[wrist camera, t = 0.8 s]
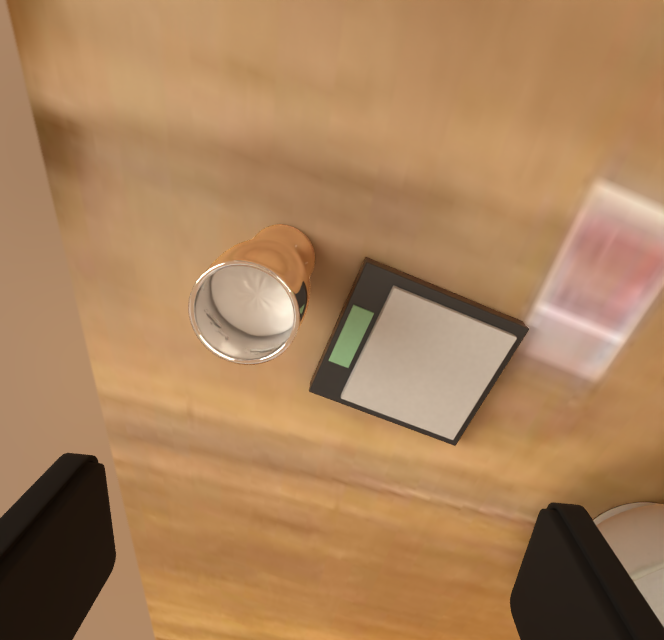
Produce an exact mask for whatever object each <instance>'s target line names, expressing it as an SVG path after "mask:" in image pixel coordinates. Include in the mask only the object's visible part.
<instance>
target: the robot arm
mask: <svg viewBox="0 0 664 640" xmlns="http://www.w3.org/2000/svg"><path fill="white" fill-rule="evenodd" d="M115 558H116V551H115V543H114V535H113V528H112V520H111V512H110V505H109V497H108V489H107V482H106V474H105V468H104V465H103V464H100V463H98V460H97V458H96V457H95V456H93V455H84V454H83V455H82V454H73V453H66V454H63V455H62V456H61V457H59V459H58V460H57V461H56V462H55V463H54V464H53V465H52V466H51V467H50V468H49V469H48V470H47V471H46V472H45V473H44V474H43V475H42V476H41V477H40V478H39V479H38V480H37V481H36V482H35V483H34V484H33V485H32V486H31V487H30V488H29V489H28V490H27V491H26V492H25V493H24V494H23V495H22V496H21V498H20V499H19V500H18V501H17V502H16V503H15V504H14V505H13V506H12V507H11V508H10V509H9V510H8V511H7V512H6V513H5V514H4V515H3V516H2V517H1V518H0V640H72V639H73V638H74V636H75V634H76V632H77V631H78V629H79V627H80V626H81V624H82V622H83V620H84V618H85V617H86V615H87V613H88V612H89V610H90V608H91V606H92V605H93V603H94V601H95V600H96V598H97V596H98V594H99V593H100V591H101V589H102V587H103V586H104V584H105V582H106V581H107V579H108V577H109V575H110V574H111V572H112V569H113V567H114V563H115ZM510 607H511V613H512V616H513V619H514V622H515V625H516V628H517V631H518V633H519V636H520V639H521V640H664V627H663V625H662V624H661V622H660V621H659V619H658V618H657V616H656V615H655V613H654V612H653V610H652V609H651V607H650V606H649V604H648V603H647V601H646V600H645V598H644V597H643V595H642V594H641V592H640V591H639V589H638V588H637V586H636V585H635V583H634V582H633V580H632V579H631V577H630V576H629V574H628V573H627V571H626V570H625V568H624V567H623V565H622V564H621V562H620V561H619V559H618V558H617V556H616V555H615V553H614V552H613V550H612V548H611V547H610V545H609V544H608V542H607V541H606V539H605V538H604V536H603V535H602V533H601V532H600V530H599V529H598V527H597V526H596V524H595V523H594V521H593V520H592V518H591V517H590V515H589V514H588V512H587V511H586V510H585V509H584V507H582V506H580V505H573V504H563V503H550V504H549V505H548V507H547V509H542V510H541V511H540V513H539V515H538V518H537V521H536V524H535V527H534V529H533V532H532V535H531V538H530V541H529V544H528V547H527V550H526V553H525V556H524V558H523V561H522V564H521V567H520V570H519V573H518V576H517V579H516V582H515V584H514V587H513V590H512V593H511V597H510Z"/></svg>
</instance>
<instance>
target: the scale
mask: <svg viewBox="0 0 664 640" xmlns="http://www.w3.org/2000/svg"><path fill="white" fill-rule="evenodd" d="M528 330H529V328H528V327H527V326H526V325H525V324H524V323H523V322H522V321H520V320H518V319H515V318H513V317H510V316H508V315H506V314H503V313H501V312H498V311H496V310H493V309H491V308H489V307H486V306H484V305H481V304H479V303H476V302H474V301H472V300H469V299H467V298H464V297H462V296H459V295H457V294H455V293H452V292H450V291H447V290H445V289H442V288H440V287H438V286H435V285H433V284H430V283H428V282H425V281H423V280H421V279H418V278H416V277H413V276H411V275H408V274H406V273H404V272H401V271H399V270H396V269H394V268H391V267H389V266H387V265H384V264H382V263H379V262H377V261H374V260H372V259H370V258H367V257H366V258H365V260H364V262H363V264H362V267H361V269H360V271H359V273H358V276H357V278H356V280H355V282H354V285H353V287H352V289H351V291H350V294H349V296H348V298H347V300H346V303H345V305H344V307H343V309H342V312H341V314H340V316H339V319H338V321H337V323H336V325H335V328H334V330H333V332H332V334H331V337H330V339H329V341H328V343H327V346H326V348H325V350H324V352H323V355H322V357H321V359H320V361H319V364H318V366H317V368H316V370H315V373H314V375H313V377H312V380H311V383H310V388H309V391H310V392H312V393H315V394H317V395H320V396H323V397H325V398H328V399H331V400H333V401H336V402H339V403H342V404H344V405H347V406H350V407H352V408H355V409H358V410H360V411H363V412H366V413H368V414H371V415H374V416H376V417H379V418H382V419H385V420H387V421H390V422H393V423H395V424H398V425H401V426H403V427H406V428H409V429H411V430H414V431H417V432H420V433H422V434H425V435H428V436H430V437H433V438H436V439H438V440H441V441H444V442H446V443H449V444H452V445H454V446H455V445H456V444H457V442H458V441H459V439H460V438H461V436H462V435H463V433H464V431H465V430H466V428H467V427H468V425H469V424H470V422H471V420H472V419H473V417H474V416H475V414H476V412H477V411H478V409H479V408H480V406H481V405H482V403H483V401H484V400H485V398H486V397H487V395H488V394H489V392H490V390H491V389H492V387H493V386H494V384H495V382H496V381H497V379H498V378H499V376H500V375H501V373H502V371H503V370H504V368H505V367H506V365H507V363H508V362H509V360H510V359H511V357H512V356H513V354H514V352H515V351H516V349H517V348H518V346H519V345H520V343H521V341H522V340H523V338H524V337H525V335H526V333H527V332H528Z"/></svg>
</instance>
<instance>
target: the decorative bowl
mask: <svg viewBox="0 0 664 640" xmlns="http://www.w3.org/2000/svg"><path fill="white" fill-rule="evenodd" d="M593 521H594V523H595V524H596V526H597V527H598V529H599V530H600V532H601V533H602V535H603V536H604V538H605V539H606V541H607V542H608V544H609V545H610V547H611V548H612V550H613V552H614V553H615V555H616V556H617V558H618V559H619V561H620V562H621V564H622V565H623V567H624V568H625V570H626V571H627V573H628V574H629V576H630V577H631V579H632V580H633V582H634V583H635V585H636V586H637V588H638V589H639V591H640V592H641V594H642V595H643V597H644V598H645V600H646V601H647V603H648V604H649V606H650V607H651V609H652V610H653V612H654V613H655V615H656V616H657V618H658V619H659V621H660V622H661V624H662V625H663V627H664V504H658V503H651V502H638V503H630V504H626V505H622V506H618V507H616V508H613V509H611V510H608V511H606V512H605V513H603V514H601V515H600V516H598V517H597V518H595V519H594V520H593Z"/></svg>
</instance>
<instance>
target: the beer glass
mask: <svg viewBox="0 0 664 640" xmlns="http://www.w3.org/2000/svg"><path fill="white" fill-rule="evenodd" d="M314 265H315V253H314V249H313V246H312V244H311V242H310V240H309V239H308V238H307V236H306V235H305V234H304V233H302V232H301V231H300V230H298V229H297V228H294V227H292V226H289V225H284V224H276V225H271V226H268V227H266V228H264V229H262V230H261V231H260V232H258V233H257V234H256V236H255V237H254V238H253V239H251V240H247V241H244V242H241V243H238V244H236V245H235V246H233V247H231V248H230V249H228V250H227V251H225V252H224V253H223V254H221V255H220V256H219V257H218V258H217V259H216V260H215V261H214V262H213V263H212V264H211V265H210V267H209V268H208V269H207V270H206V271H205V272H204V273H203V274H202V275H201V276H200V277H199V279H198V280H197V281H196V283H195V285H194V286H193V289H192V291H191V294H190V298H189V305H188V311H189V318H190V322H191V325H192V328H193V330H194V332H195V334H196V336H197V337H198V339H199V340H200V341H201V343H202V344H203V345H204V346H205V347H206V348H207V349H208V350H209V351H211V352H212V353H213V354H215V355H216V356H218V357H220V358H222V359H224V360H226V361H229V362H232V363H236V364H242V365H255V364H261V363H265V362H268V361H271V360H273V359H275V358H276V357H278V356H279V355H281V354H282V353H283V352H284V351H285V350H286V349H287V348H288V347H289V346H290V345H291V343H292V342H293V340H294V338H295V336H296V334H297V331H298V329H299V327H300V326H301V324H302V322H303V319H304V317H305V314H306V311H307V308H308V304H309V299H310V278H309V277H310V276H311V274H312V272H313V269H314Z"/></svg>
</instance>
